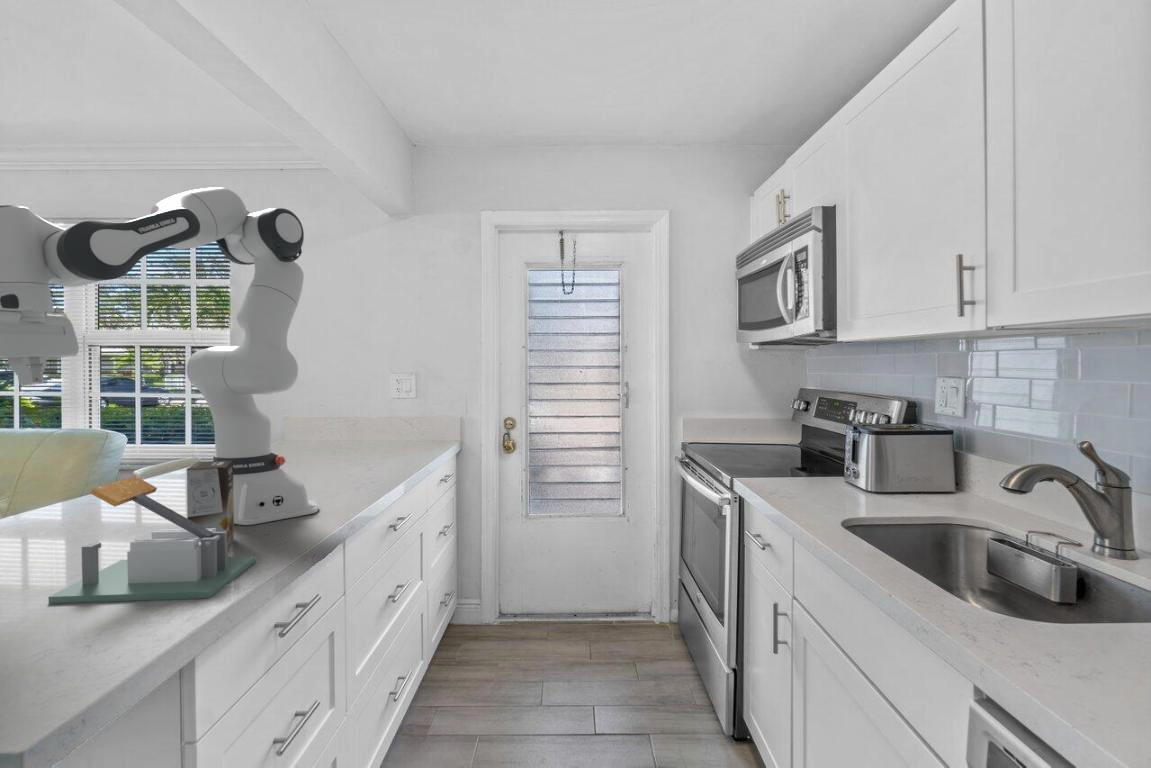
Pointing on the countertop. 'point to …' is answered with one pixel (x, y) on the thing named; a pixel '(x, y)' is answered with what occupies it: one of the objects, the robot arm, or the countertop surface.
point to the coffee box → (212, 496)
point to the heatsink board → (148, 590)
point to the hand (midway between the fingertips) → (32, 384)
